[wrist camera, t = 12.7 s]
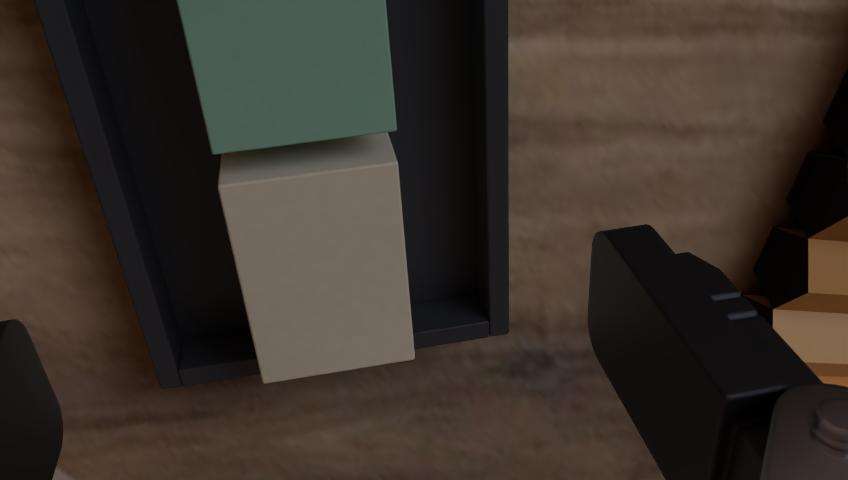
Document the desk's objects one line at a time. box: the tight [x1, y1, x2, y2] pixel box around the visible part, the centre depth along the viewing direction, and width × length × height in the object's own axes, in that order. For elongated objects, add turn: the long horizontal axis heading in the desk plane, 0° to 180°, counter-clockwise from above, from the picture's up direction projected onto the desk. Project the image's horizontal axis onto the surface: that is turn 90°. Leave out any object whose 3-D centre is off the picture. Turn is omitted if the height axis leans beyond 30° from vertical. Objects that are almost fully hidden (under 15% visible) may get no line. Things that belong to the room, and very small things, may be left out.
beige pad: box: [218, 132, 415, 384], centre depth 27 cm, size 6×8×4 cm
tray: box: [34, 0, 509, 389], centre depth 26 cm, size 14×20×2 cm
